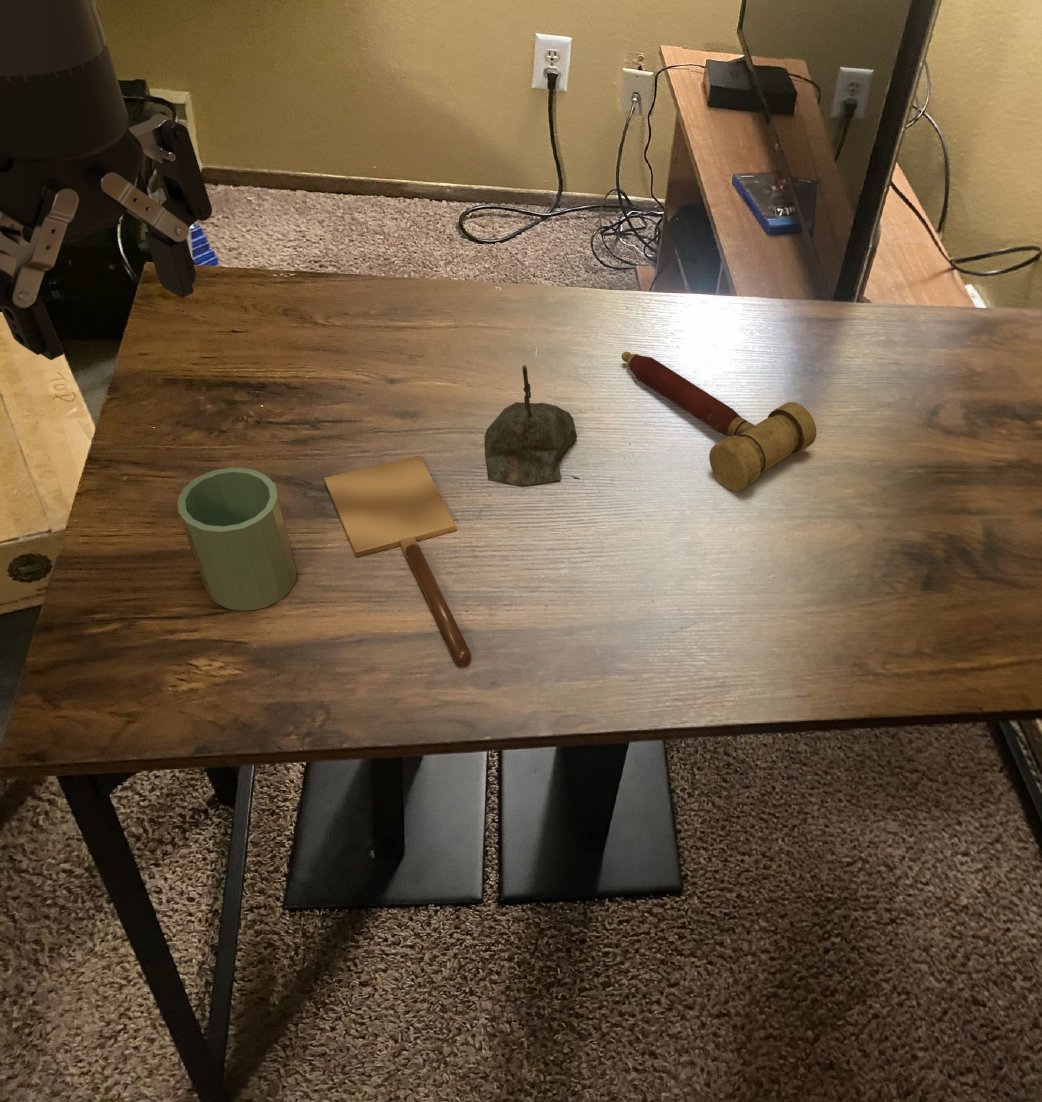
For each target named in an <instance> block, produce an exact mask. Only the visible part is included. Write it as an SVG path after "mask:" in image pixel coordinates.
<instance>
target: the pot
mask: <svg viewBox="0 0 1042 1102" xmlns="http://www.w3.org/2000/svg"><path fill="white" fill-rule="evenodd" d="M176 502H177V513H178V515H179V518H180V522H181V524H182V527H183V530H184V532H185V535H186V538H187V541H188V544H189V546H190V550H191V552H192V555H193V558H194V560H195V563H196V566H197V569H198V572H199V575H200V577H201V580H202V583H203V586H204V588H205V590H206V592H207V594H208V596H209V597H210V599H211V600H212V601H213V602H214V603H216V604H217V605H219V606H221V607H222V608H225V609H228V610H232V611H240V612H246V611H247V612H249V611H250V612H251V611H256V610H261V609H265V608H267V607H270V606H272V605H274V604H276V603H278V602H280V601H281V600H283V599H284V598H285V597H286V596H287V595H288V594H289V593H290V592H291V591H292V589H293V588H294V586H295V584H296V581H297V576H298V573H297V572H298V571H297V565H296V561H295V556H294V553H293V548H292V544H291V541H290V536H289V532H288V529H287V525H286V520H285V516H284V512H283V510H282V505H281V500H280V497H279V493H278V489H277V486H276V484H275V483H274V482H273V481H272V479H271V478H270V477H269V476H268V475H267V474H265V473H262V472H259V471H258V470H255V469H252V468H246V467H238V466H237V467H236V466H235V467H233V466H232V467H225V468H218V469H213V470H211V471H209V472H207V473H206V472H205V473H204V474H201V475H199V476H197V477H195V478H194V479H193V480H192V481H190V482H189V483H187V484H186V485H185V486H184V487H183V488H182V490H181V492H180V494H179V496H178V498H177V500H176Z"/></svg>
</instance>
